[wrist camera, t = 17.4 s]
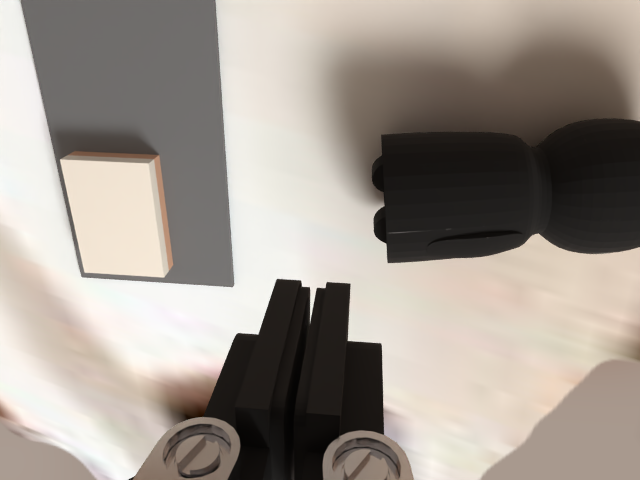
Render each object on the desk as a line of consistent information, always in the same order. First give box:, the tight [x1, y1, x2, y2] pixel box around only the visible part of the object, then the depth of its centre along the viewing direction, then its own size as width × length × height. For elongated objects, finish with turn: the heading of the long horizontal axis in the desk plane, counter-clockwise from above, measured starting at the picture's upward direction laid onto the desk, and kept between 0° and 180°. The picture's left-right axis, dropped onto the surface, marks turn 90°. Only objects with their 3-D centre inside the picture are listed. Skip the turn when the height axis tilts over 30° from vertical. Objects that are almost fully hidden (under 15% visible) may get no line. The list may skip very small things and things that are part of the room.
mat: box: [21, 0, 234, 287], centre depth 41 cm, size 26×14×1 cm, turn 179°
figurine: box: [372, 119, 640, 263], centre depth 35 cm, size 9×9×20 cm
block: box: [60, 151, 173, 278], centre depth 42 cm, size 10×2×7 cm
